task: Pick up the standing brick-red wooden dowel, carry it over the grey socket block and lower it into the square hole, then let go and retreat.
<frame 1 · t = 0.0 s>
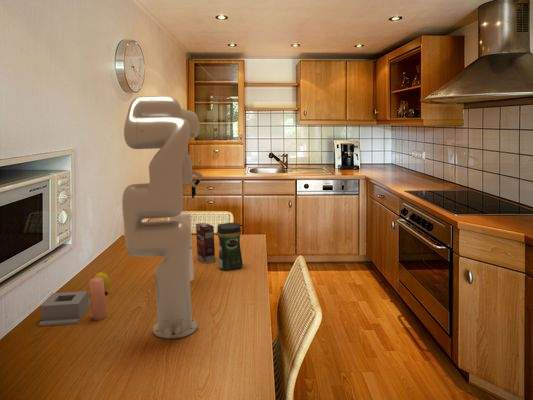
hand: (180, 198, 172), 31 cm above the table, tool pointing down, fingers open, 9 cm apart
coffee jar: (230, 267, 190), on the table
peg: (99, 317, 143), on the table
supplement box: (206, 261, 201), on the table
socket: (66, 314, 146), on the table
cylindrical container: (184, 280, 176), on the table
lemon: (102, 294, 163), on the table
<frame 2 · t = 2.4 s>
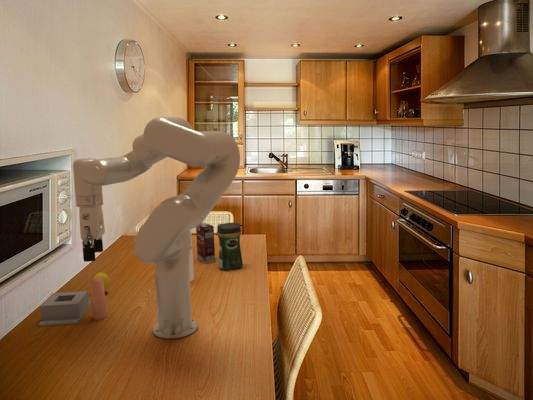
hand: (93, 256, 140), 19 cm above the table, tool pointing down, fingers open, 9 cm apart
nothing on the table moved.
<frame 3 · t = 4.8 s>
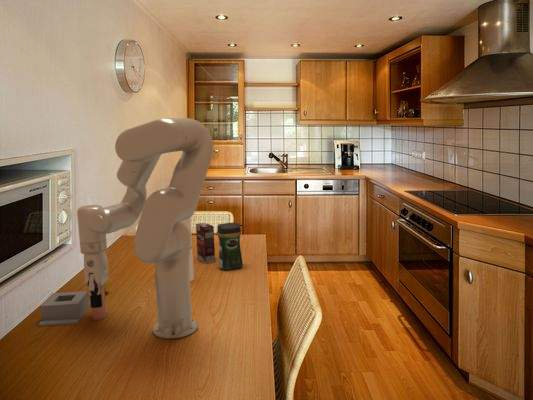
hand: (98, 303, 143), 4 cm above the table, tool pointing down, fingers closed on peg, 4 cm apart
peg: (99, 317, 143), on the table, touching gripper
everything else where it was.
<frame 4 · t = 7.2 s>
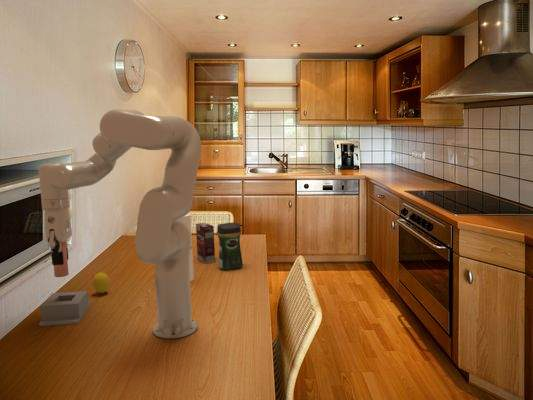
hand: (60, 261, 143), 17 cm above the table, tool pointing down, fingers closed on peg, 4 cm apart
peg: (61, 275, 144), point 13 cm above the table, touching gripper
everything else where it was.
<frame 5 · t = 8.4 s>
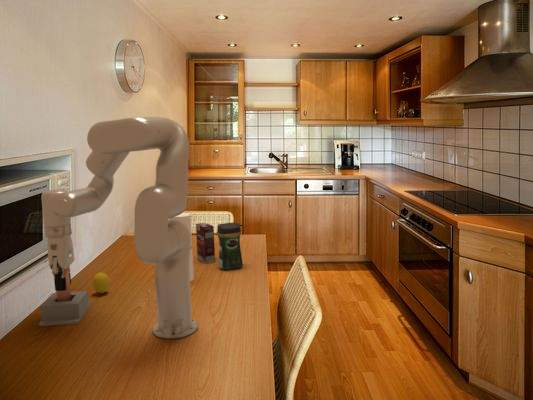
hand: (63, 287, 145), 9 cm above the table, tool pointing down, fingers closed on peg, 4 cm apart
peg: (64, 300, 145), point 5 cm above the table, touching gripper
everything else where it was.
when the fingers open (7 cm above the table, at t = 9.5 s): peg drops 1 cm, resting on socket.
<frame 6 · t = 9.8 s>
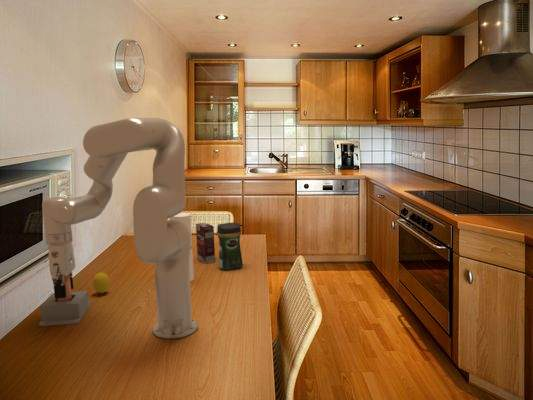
hand: (64, 293, 145), 7 cm above the table, tool pointing down, fingers open, 6 cm apart
peg: (66, 311, 146), point 1 cm above the table, touching socket
everything else where it was.
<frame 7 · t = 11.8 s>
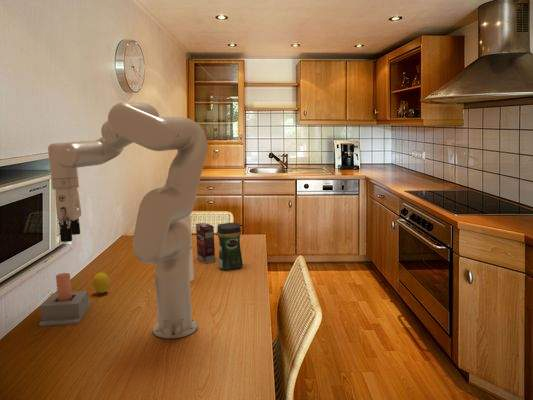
hand: (71, 237, 145), 24 cm above the table, tool pointing down, fingers open, 9 cm apart
nothing on the table moved.
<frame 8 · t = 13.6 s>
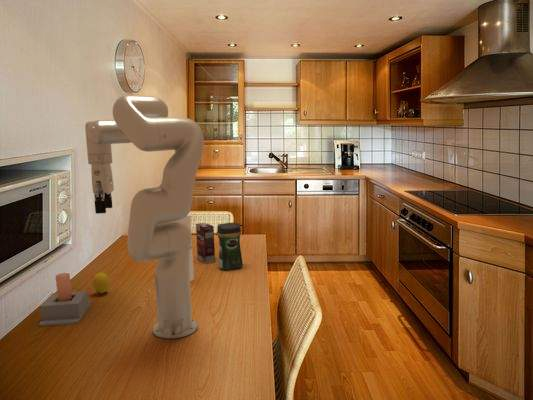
hand: (104, 210, 155), 30 cm above the table, tool pointing down, fingers open, 9 cm apart
nothing on the table moved.
at the end: peg 0.0 cm off-centre on the socket, point 0.8 cm above the socket's base; peg tilted 1°; the gripper is holding nothing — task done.
